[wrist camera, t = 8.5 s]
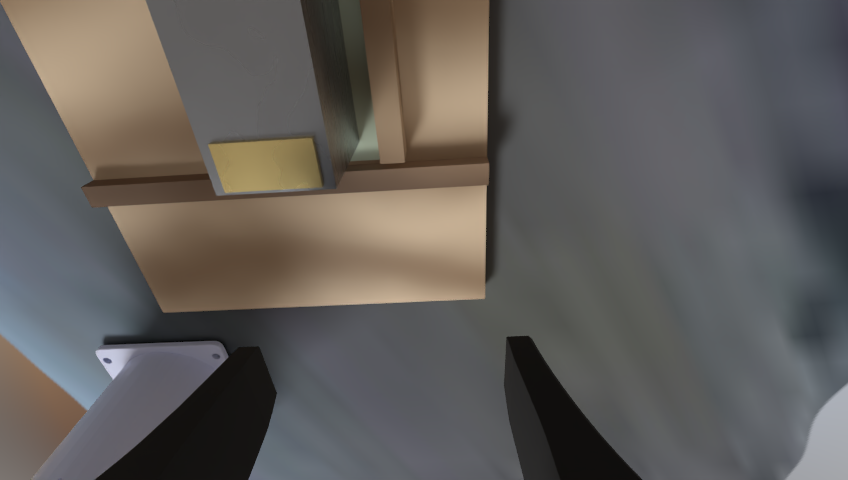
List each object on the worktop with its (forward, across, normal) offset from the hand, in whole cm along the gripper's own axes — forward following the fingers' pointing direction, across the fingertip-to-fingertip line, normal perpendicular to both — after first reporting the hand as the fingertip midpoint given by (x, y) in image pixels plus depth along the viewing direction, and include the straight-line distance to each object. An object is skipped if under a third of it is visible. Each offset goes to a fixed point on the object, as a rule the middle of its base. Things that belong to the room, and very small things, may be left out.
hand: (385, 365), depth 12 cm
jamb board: (+10, +5, -4) cm, 12 cm away
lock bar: (+9, +4, -8) cm, 12 cm away
